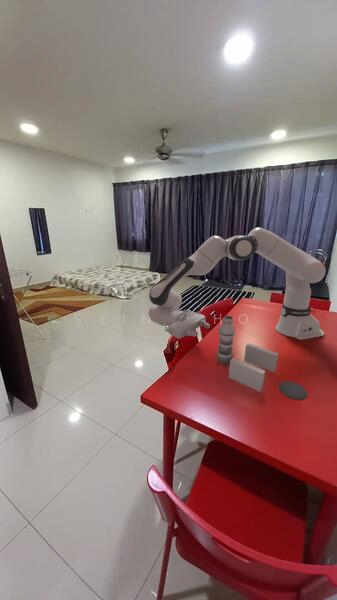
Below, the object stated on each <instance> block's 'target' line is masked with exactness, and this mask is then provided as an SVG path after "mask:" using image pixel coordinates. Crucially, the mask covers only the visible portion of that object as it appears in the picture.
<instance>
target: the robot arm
mask: <svg viewBox="0 0 337 600" xmlns="http://www.w3.org/2000/svg"><path fill="white" fill-rule="evenodd" d="M254 254H258V255H259V256H260V257H262V258H264V259H265V260H267V261H269V262H270V263H272V264H274V265H276V267H278V268H280V269H282V270H283V271H285V293H284V298H283V303H281V304H282V305H281V309H280V317H279V320H278V322H277V324H276V326H275V330H276V331H277V332H278V333H280V334H282V335H284V336H287V337H290V338H294V339H297V340H300V341H301V340H303V341H304V340H308V339H314V337H315V338H319V337H320V336H321V337H324V336H325V332H324V331H323V330H322V329H321V324H320V321H319V320H318V319H317V318H316V317H314V315H312V314H314V313H316V312H317V311H316V309H315V308H313V307H310V306H309V305H310V302H311V301H310V300H311V295H312V289H311V286H310V284H317V283H318V282H320V281H322V279H323V278H325V276H326V271H327V270H326V266H325V265H324V264H323V263H322V262H321V261H320V260H319V259H317V258H315V257H314V256H312V255H310V254H309V253H307V252H306V251H303V250H302V249H300V248H298V247H296V246H295V245H293V244H291V243H290V242H289V241H287V240H286V239H284V238H282V237H280V236H279V235H278V234H275V233H274V232H272V231H270V230H268V229H265V228H263V227H259V226H258V227H255V228H253V229H251V230H250V232H249V233H248V234H247V235H243V234H242V235H234V236H231V237H228V238H225V239H224V238H222V237H221V236H219V235H212V236H210V237H209V238H208V239H207V240H206V241H204V242H203V243H201V245H200V246H199V247H198V249H196V251H195V252H194V253H193V254H191V256H189V257H187V258H184V259H182V260H181V261H180V262H179V263H178V264H176V266H175V267H173V269H171V270H170V271H169V272H168V273H167V274H166V275H165V276H164V277H163V278H162V279H161V280H160V281H158V282H156V283H155V284H153V285H152V286H151V288H150V290H149V292H148V293H149V295H148V296H149V301H150V302H151V303H152V304H153V305H151V306H150V307H149V309H148V317H149V319H150V320H151V321H152V322H153V323H155V324H157V325H159V326H162V327H165V328H164V331H165V332H167V333H168V334H169V335H171V336H173V337H175V338H176V339H182V338H184V337H185V336H187V337H188V336H189V337H197V336H198V335H199V332H198V331H196V330H197V329H198V328H199V327H202V326H204V329H209V328H210V326H211V324H210V323H207V321H206V316H205V314H201V313H198V312H195V311H192V310H190V309H184V310H180V307H181V306H182V302H183V297H182V294H181V293H179V292H178V291H177V290H175V289H173V288H174V287H175V286H176V285H178V284H179V283H180V281H182V280H183V279H184V278H185V277H187V276H204V275H207V274H208V273H210V272H211V271H212V270H213V269H214V267H216V265H217V264H218V262H220V260H222V259H223V258H225V257H226V258H228V259H230V260H233V261H239V262H241V261H245V260H247V259H249V258H250V257H251V256H252V255H254Z"/></svg>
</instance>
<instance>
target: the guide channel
mask: <svg viewBox="0 0 337 600" xmlns="http://www.w3.org/2000/svg"><path fill="white" fill-rule="evenodd" d="M278 358H279V353H278V352H275V351H272V350H269V349H267V348H264V347H261V346H258V345H255V344H252V343H249V342H248V343H246V344H245V350H244V357H243V359H244V360H243V361H241V360H239V359H236V358H234V357H233V358H232V359H231V360H230V363H229V368H228V378H229V379H230V380H233V381H236V382H238V383H239V384H242V385H244V386H246V387H248V388H250V389H252V390H255V391H257V392H259V393H260V392H262V390H263V388H264V381H265V376H266V375H265V374H266V370H267V371H269V372H272V373H274V372H275V371H276V369H277V363H278ZM258 367H259V368H258ZM261 368H262V369H261ZM263 369H264V370H263Z"/></svg>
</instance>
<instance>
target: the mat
mask: <svg viewBox="0 0 337 600" xmlns="http://www.w3.org/2000/svg"><path fill="white" fill-rule="evenodd" d="M278 389H279V391H280V393H281V394H282V395H283V396H285V397H287V398H289V399H290V400H296V401H303V400H306V399H307V398H308V394H309V393H308V391H307V389H306V388H305V387H303V385H301V384H300V383H297V382H295V381H289V380H288V381H287V380H285V381H282V382H280V383H279V384H278Z"/></svg>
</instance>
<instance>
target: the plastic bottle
mask: <svg viewBox="0 0 337 600" xmlns="http://www.w3.org/2000/svg"><path fill="white" fill-rule="evenodd" d="M233 323H234V317H233V316H231V315H224V316H223V318H222V323H221V324H220V326H219V328H218V337H219V338H218V339H219V340H218V349H217V352H216V360H217V361H218V363H220V364H222V365H230V360H231V359H232V358H234V357H233V344H234V338H235V335H236V327H235V326H234V324H233Z"/></svg>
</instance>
